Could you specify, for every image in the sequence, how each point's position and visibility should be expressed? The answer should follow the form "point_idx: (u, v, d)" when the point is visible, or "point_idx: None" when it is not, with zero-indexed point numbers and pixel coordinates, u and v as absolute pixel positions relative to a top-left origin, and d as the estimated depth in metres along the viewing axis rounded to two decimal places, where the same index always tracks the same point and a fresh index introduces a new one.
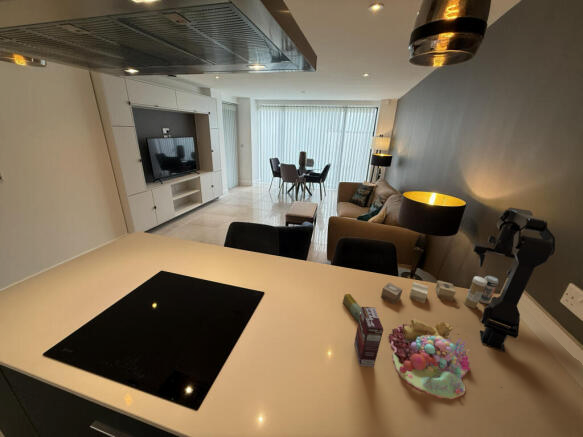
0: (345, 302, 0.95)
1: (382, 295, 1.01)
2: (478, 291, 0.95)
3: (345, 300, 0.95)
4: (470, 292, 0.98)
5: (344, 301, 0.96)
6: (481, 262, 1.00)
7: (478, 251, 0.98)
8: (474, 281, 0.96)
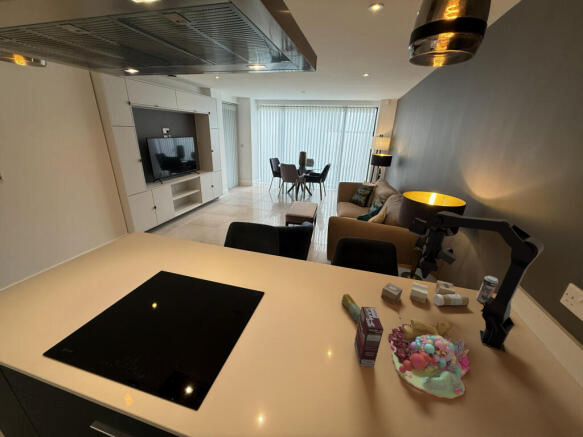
0: (344, 302, 0.95)
1: (382, 295, 1.01)
2: (449, 303, 0.97)
3: (344, 300, 0.95)
4: None
5: (343, 301, 0.96)
6: None
7: (423, 248, 1.04)
8: None
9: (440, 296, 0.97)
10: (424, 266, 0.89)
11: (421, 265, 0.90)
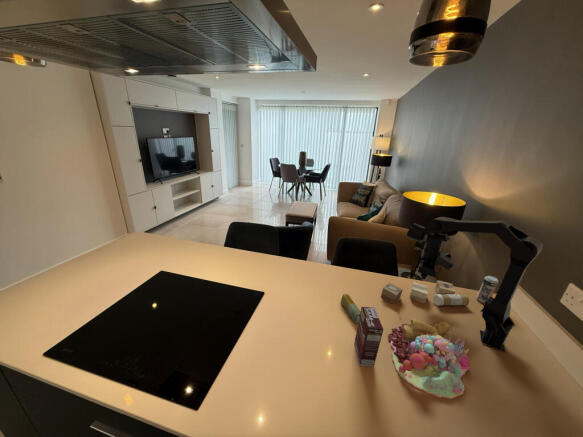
0: (343, 302, 0.95)
1: (382, 295, 1.01)
2: (449, 303, 0.97)
3: (343, 300, 0.95)
4: None
5: (342, 301, 0.96)
6: None
7: (421, 253, 1.05)
8: None
9: (440, 296, 0.97)
10: (422, 271, 0.90)
11: (419, 270, 0.91)
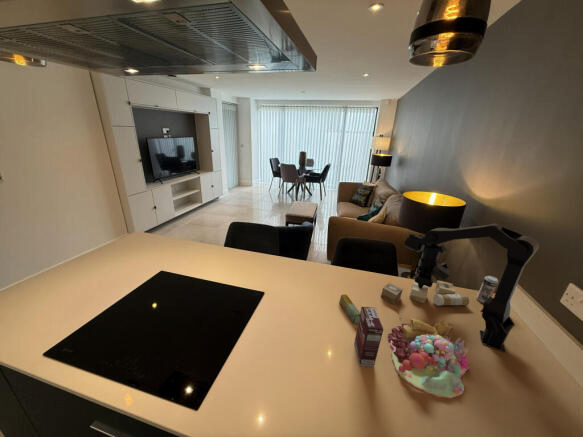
0: (341, 302, 0.95)
1: (382, 295, 1.01)
2: (449, 303, 0.97)
3: (341, 300, 0.95)
4: None
5: (340, 301, 0.96)
6: None
7: None
8: None
9: (440, 296, 0.97)
10: (419, 282, 0.92)
11: (416, 281, 0.92)
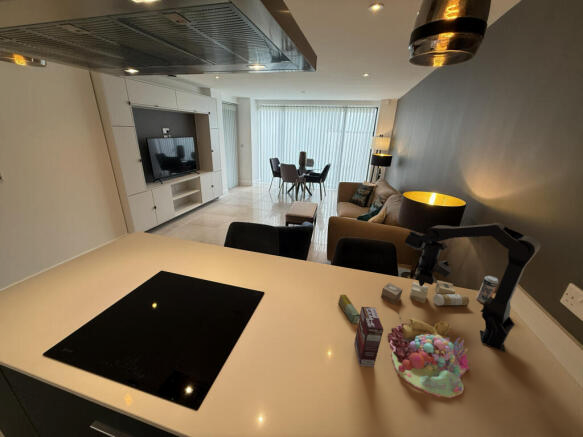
0: (340, 303, 0.95)
1: (382, 295, 1.01)
2: (449, 303, 0.97)
3: (340, 300, 0.95)
4: None
5: (339, 302, 0.96)
6: None
7: (419, 260, 1.06)
8: None
9: (440, 296, 0.97)
10: (420, 279, 0.91)
11: (417, 278, 0.92)
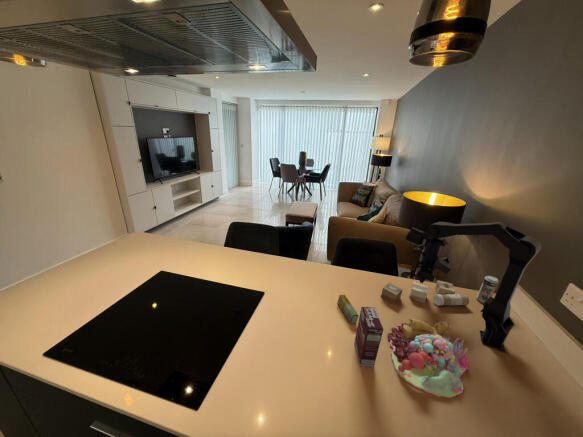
0: (339, 303, 0.95)
1: (382, 295, 1.01)
2: (449, 303, 0.97)
3: (339, 300, 0.95)
4: None
5: (339, 302, 0.96)
6: None
7: None
8: None
9: (440, 296, 0.97)
10: (420, 276, 0.91)
11: (418, 275, 0.92)
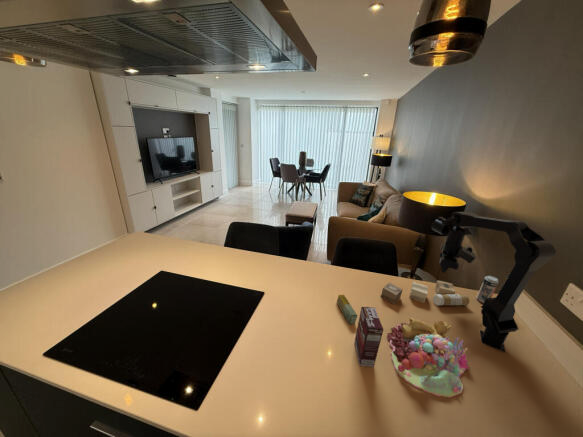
0: (338, 303, 0.95)
1: (382, 295, 1.01)
2: (449, 303, 0.97)
3: (338, 300, 0.95)
4: None
5: (338, 302, 0.95)
6: None
7: None
8: None
9: (440, 296, 0.97)
10: (445, 264, 0.92)
11: (441, 263, 0.92)
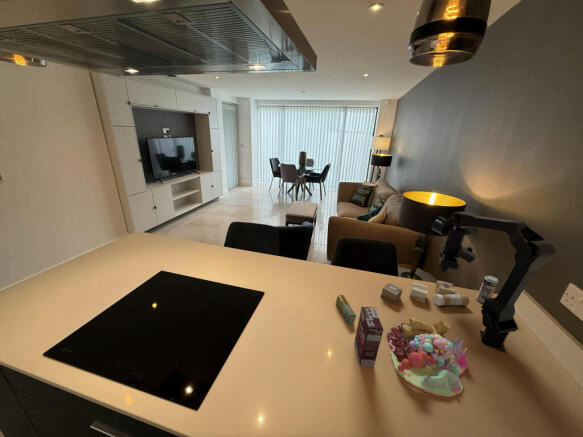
0: (338, 303, 0.95)
1: (382, 295, 1.01)
2: (449, 303, 0.97)
3: (338, 300, 0.95)
4: None
5: (337, 302, 0.95)
6: None
7: None
8: None
9: (440, 296, 0.97)
10: (445, 264, 0.92)
11: (442, 263, 0.92)
